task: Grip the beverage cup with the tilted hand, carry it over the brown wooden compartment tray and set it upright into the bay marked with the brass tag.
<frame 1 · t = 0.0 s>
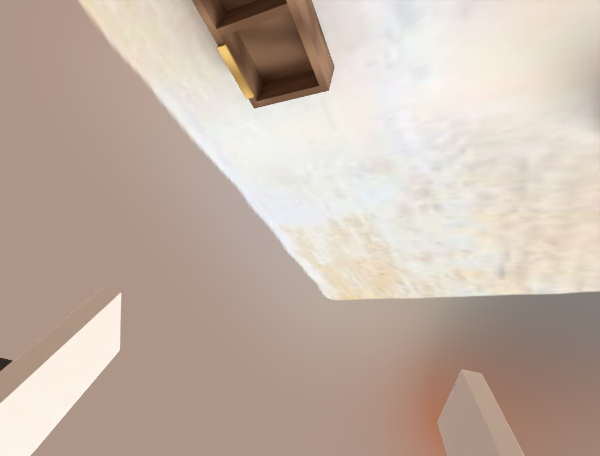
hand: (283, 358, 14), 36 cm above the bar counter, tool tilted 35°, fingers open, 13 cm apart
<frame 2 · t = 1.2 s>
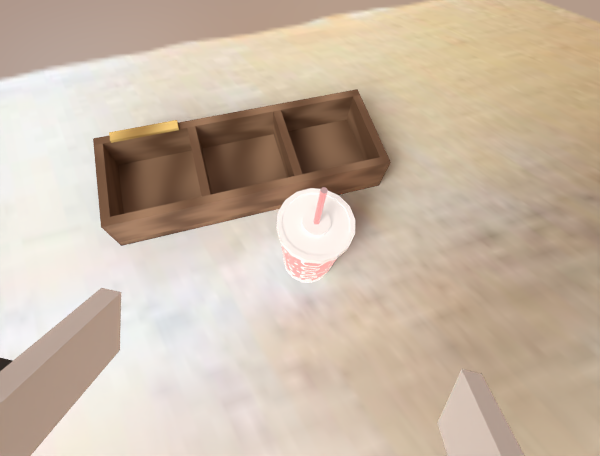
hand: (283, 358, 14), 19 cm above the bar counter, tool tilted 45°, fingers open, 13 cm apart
brown wooden compartment tray: (247, 175, 39), on the bar counter
beverage cup: (307, 260, 36), on the bar counter
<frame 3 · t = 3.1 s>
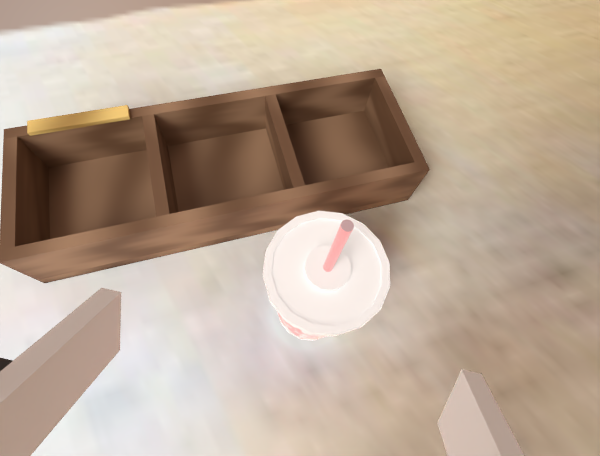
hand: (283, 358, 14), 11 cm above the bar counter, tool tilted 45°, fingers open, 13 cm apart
brown wooden compartment tray: (228, 183, 29), on the bar counter
beverage cup: (309, 307, 26), on the bar counter
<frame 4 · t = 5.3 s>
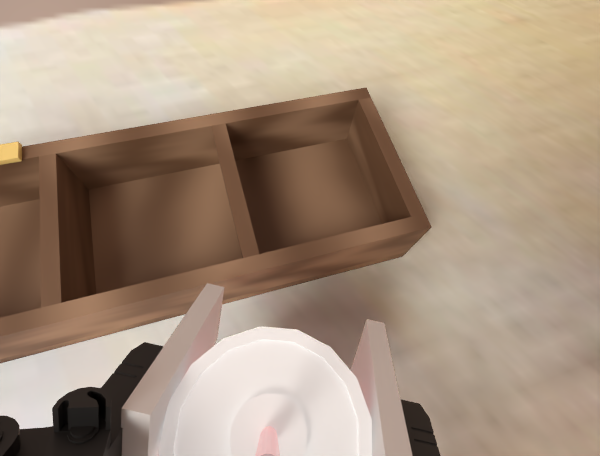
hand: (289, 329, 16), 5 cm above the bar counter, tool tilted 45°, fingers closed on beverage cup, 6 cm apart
brown wooden compartment tray: (168, 238, 22), on the bar counter
beverage cup: (269, 414, 19), on the bar counter, touching gripper
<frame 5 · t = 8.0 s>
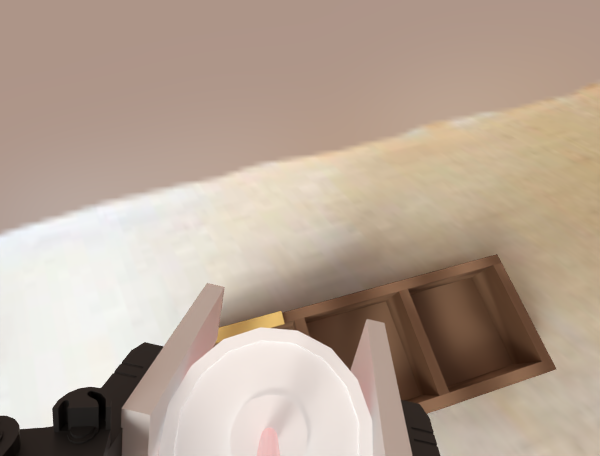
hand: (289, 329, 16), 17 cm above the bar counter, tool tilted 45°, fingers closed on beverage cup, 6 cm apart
brown wooden compartment tray: (357, 359, 31), on the bar counter
beverage cup: (269, 415, 19), point 12 cm above the bar counter, touching gripper
when the fingers open (7 cm above the bar counter, at t = 10.9 s): beverage cup stays where it is, resting on brown wooden compartment tray.
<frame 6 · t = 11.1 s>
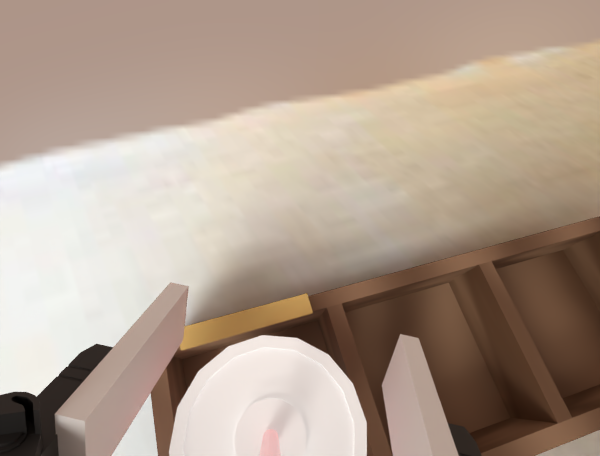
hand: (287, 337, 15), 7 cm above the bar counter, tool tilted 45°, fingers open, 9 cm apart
brown wooden compartment tray: (412, 366, 22), on the bar counter
beverage cup: (271, 415, 20), point 1 cm above the bar counter, touching brown wooden compartment tray
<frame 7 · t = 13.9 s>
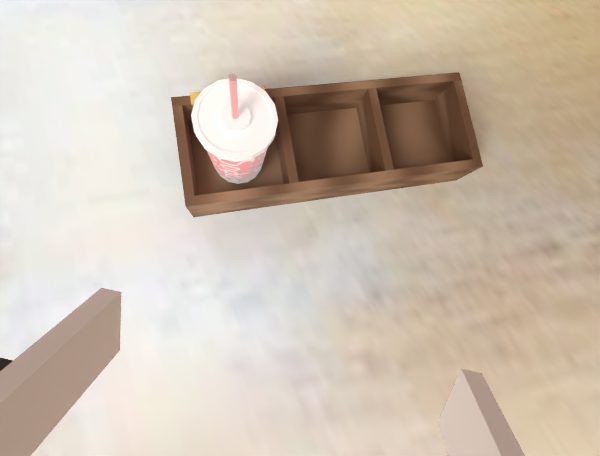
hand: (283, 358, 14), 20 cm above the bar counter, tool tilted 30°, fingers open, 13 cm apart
brown wooden compartment tray: (324, 151, 37), on the bar counter
beverage cup: (238, 161, 35), point 1 cm above the bar counter, touching brown wooden compartment tray
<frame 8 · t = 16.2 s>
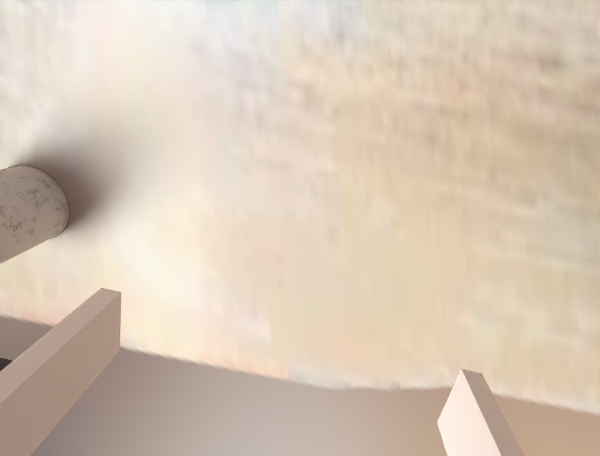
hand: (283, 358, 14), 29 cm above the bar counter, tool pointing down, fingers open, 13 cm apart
gray concrete cylinder: (33, 203, 45), on the bar counter
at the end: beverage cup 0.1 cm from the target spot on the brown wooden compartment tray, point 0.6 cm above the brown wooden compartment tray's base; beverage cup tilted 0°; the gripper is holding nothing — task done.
